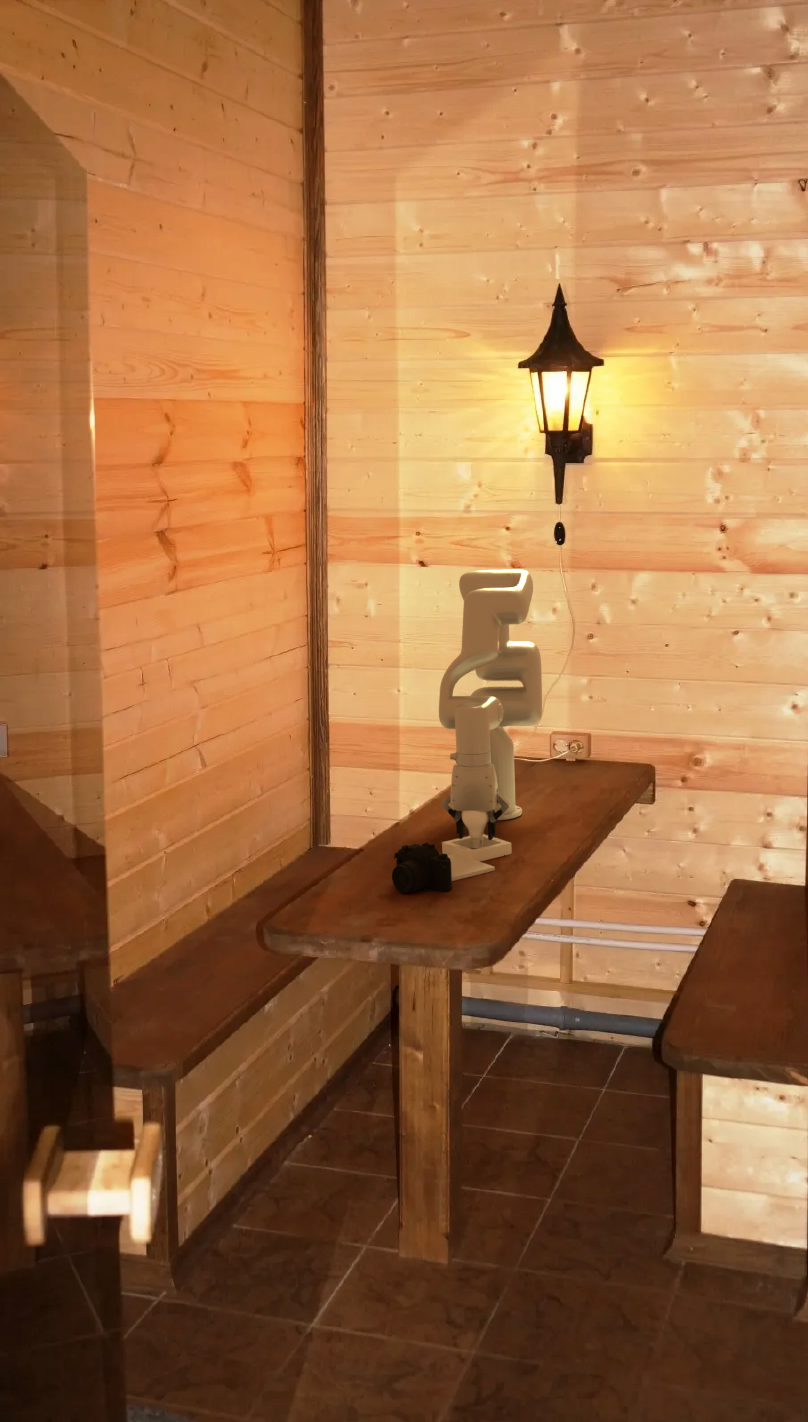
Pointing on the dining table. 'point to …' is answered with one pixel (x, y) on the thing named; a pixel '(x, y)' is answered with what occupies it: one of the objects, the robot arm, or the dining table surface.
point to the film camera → (422, 869)
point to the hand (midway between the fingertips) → (476, 837)
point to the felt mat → (467, 867)
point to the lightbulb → (475, 826)
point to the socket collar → (486, 852)
